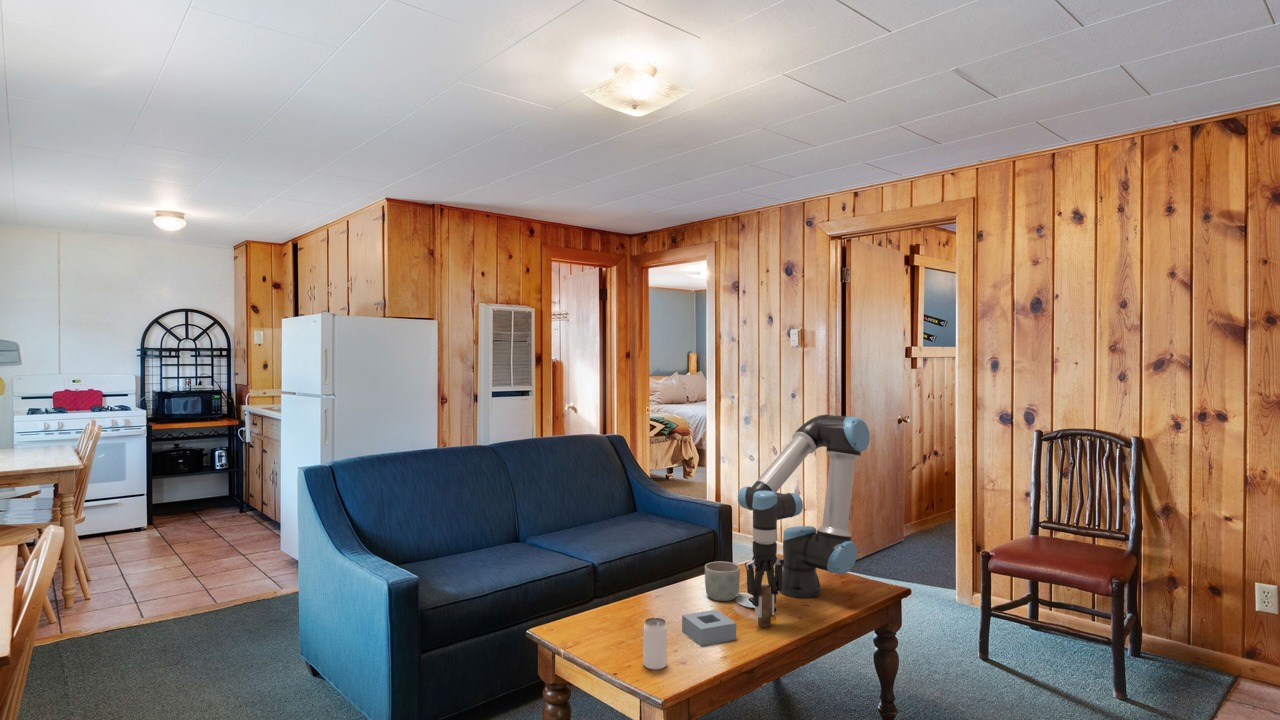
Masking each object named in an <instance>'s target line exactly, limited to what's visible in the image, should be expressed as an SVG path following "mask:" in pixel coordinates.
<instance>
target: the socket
mask: <svg viewBox="0 0 1280 720" xmlns="http://www.w3.org/2000/svg"><path fill="white" fill-rule="evenodd" d="M681 631H682V633H684V635H686V636H687V637H689V638H690V639H691V640H692V641H694V642H695V643H696V644H697V645H698V646H700V647H704V646H710V645H715V644H721V643H726V642H732V641H736V640H737V622H735V621H734V620H733V619H731V618H729V617H728V616H727V615H726V614H724V613H722V612H720V611H719V610H718V609H711V610H704V611H699V612H692V613H685V614H682V615H681Z"/></svg>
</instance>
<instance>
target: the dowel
mask: <svg viewBox="0 0 1280 720" xmlns="http://www.w3.org/2000/svg"><path fill="white" fill-rule="evenodd" d="M760 596H761V597H762V617H761V618H759V617H758V616H757V621H758V622H757V625H758V626H759V627H762V628H769V627H771V626H772V615H771V586H769V585H768V584H761V590H760Z"/></svg>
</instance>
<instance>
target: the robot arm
mask: <svg viewBox="0 0 1280 720" xmlns="http://www.w3.org/2000/svg"><path fill="white" fill-rule="evenodd" d="M870 441H871V436H870V430H869V427H868V425H867V423H866V422H865V420H863V419H862V418H860V417H856V416H849V415H832V414H820V415H817V416H814V417H812V418H811V419H809V420H807V421H806V422H805V423H803V424H802V425H801V426H800V427H799V428H798V429H797V430H796V431H795V432H794V433H793V434H792V439H791V441H790V442H789V443H787V446H785V448H784V449H783V450H782V451H781V452H780V453H779V455H778V456H777V457H776V458H775V459H774V460H773V462H772V463H770V465H769V466H768V468H766V469H765V470H764V472H763V473H762V474H761V475H760V477H759V478H758V479H757V480H756V481H755V483H753V484H752V486H749V485H748V486H743V487H741V488H740V490H738V493H737V503H738V504H739V507H741V508H742V509H746V510H748V511H752V555H753V556H752V558H751V559H752V560H751V561H749V562H745V563H744V566H745V570H746V589H747V591H746V592H747V593H748V594H749V595H751V596H752V606H754V616H756V617H757V618H758V617H759V618H761V617H762V597H761V596H760V590H761V585H763V578H764V577H763V576H765V573H766V578H767V579H766V580H767V585H769V586H771V616H775V604H777V595H778V594H779V593H781V594H782V595H784V596H788V597H793V598H799V599H810V598H815V597H818V596H820V595H821V594H822V586H821V583H820V580H819V577H818V573H817V569H818V570H819V569H820V570H822V571H826V572H829V573H830V574H838V575H844V574H847V573H848V572H850V570H851V569H852V568H853V566H854V565H855V563H856V560H857V557H858V549H857V546H856V544H855V543H854V542H853V541H852V533H850V531H849V521H850V512H851V504H852V496H853V495H852V494H853V487H854V485H853V484H854V477H855V466H856V461H857V460H858V459H860V458H861V455H862V453H863V452H864V451H866V450H867V449H868V447H869V445H870ZM822 447H826V453H827V455H828V456H829V464H828V465H829V466H828V472H827V473H828V475H827V481H826V482H827V483H826V491H825V498H824V499H825V500H824V501H825V502H824V509H823V517H822V525H821V526H820V527H818V528H816V527H814V526H809V525H808V526H807V525H798V526H790V527H788V528H785V530H784V531H783V539H782V558H780V557H778V556H777V553H778V552H777V551H778V543H777V540H778V528H777V527H778V524H777V523H778V520H779V521H780V520H784V519H788V518H793V517H796V516H799V515H800V514H801V513H802V512H803V509H804V503H803V502H804V501H803V500H802V497H801V496H800V495H799V494H798V493H795V492H786V493H781V492H778V491H779V490H780V489H781V487H782V486H783V485H784V484H785V483H786V482H787V480H788V479H789V478H790V477H791V476H792V475H793V473H794V472H795V471H796V469H798V467H799V466H800V465H801V464H802V463H803V461H804V460H805V459H806V458H807V457H808V455H809V454H814V452H815V451H817V449H819V448H822Z"/></svg>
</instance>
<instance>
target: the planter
mask: <svg viewBox="0 0 1280 720" xmlns="http://www.w3.org/2000/svg"><path fill="white" fill-rule="evenodd" d="M740 579H741V567H740V565H738V564H736V563H734V562H730V561H718V560H717V561H713V562H712V561H711V562H708V563H706V564H704V581H705V582H704V583H705V584H704V585H705V592H706V595H707V596H708V597H709V598H710V599H712V600H714V601H719V602H729V601H732V600H734V599H736V598H735V596H736V595H737V594H738V595H739V592H740V582H741V581H740ZM738 595H737V596H738Z"/></svg>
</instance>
